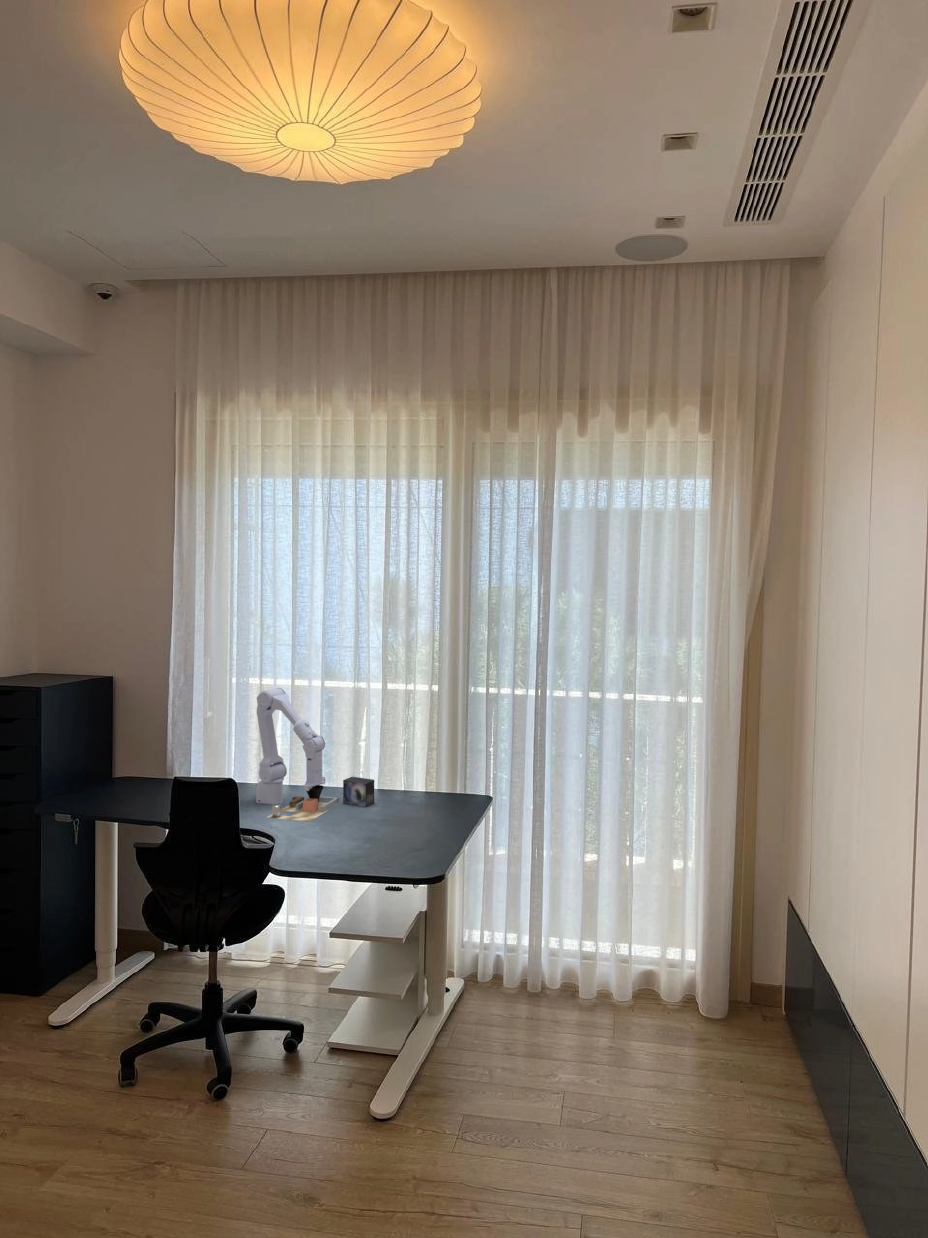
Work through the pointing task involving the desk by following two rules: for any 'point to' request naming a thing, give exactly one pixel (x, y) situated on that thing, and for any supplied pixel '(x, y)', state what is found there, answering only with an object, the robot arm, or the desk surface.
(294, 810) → the birch board
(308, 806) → the coral cube
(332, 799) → the grey rectangular frame
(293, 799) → the walnut bar
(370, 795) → the small box
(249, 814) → the desk surface
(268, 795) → the robot arm
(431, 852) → the desk surface
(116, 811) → the desk surface
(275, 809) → the grey metal peg
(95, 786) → the desk surface
